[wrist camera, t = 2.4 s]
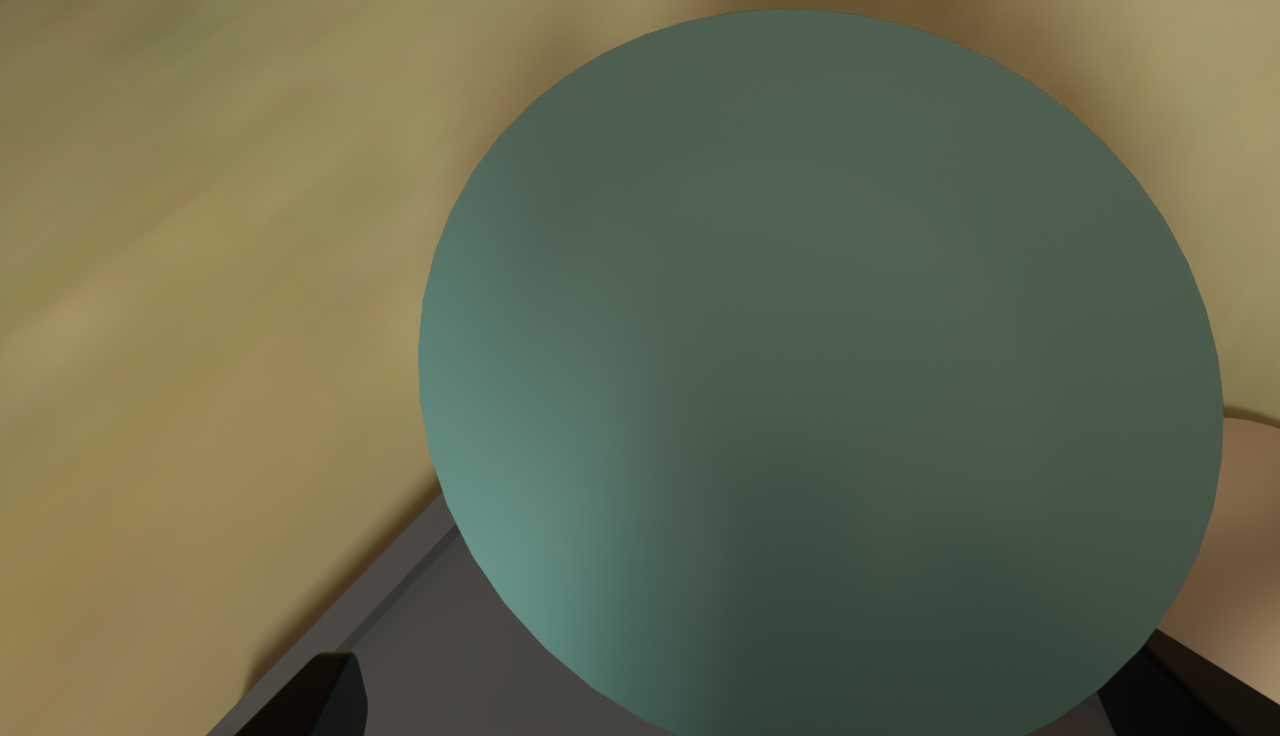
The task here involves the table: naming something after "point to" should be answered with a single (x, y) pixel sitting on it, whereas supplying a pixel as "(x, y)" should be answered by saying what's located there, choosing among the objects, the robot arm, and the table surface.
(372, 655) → the condiment tray
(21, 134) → the table surface
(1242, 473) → the cork coaster
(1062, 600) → the teal cylinder
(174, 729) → the table surface
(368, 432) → the table surface
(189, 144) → the table surface
